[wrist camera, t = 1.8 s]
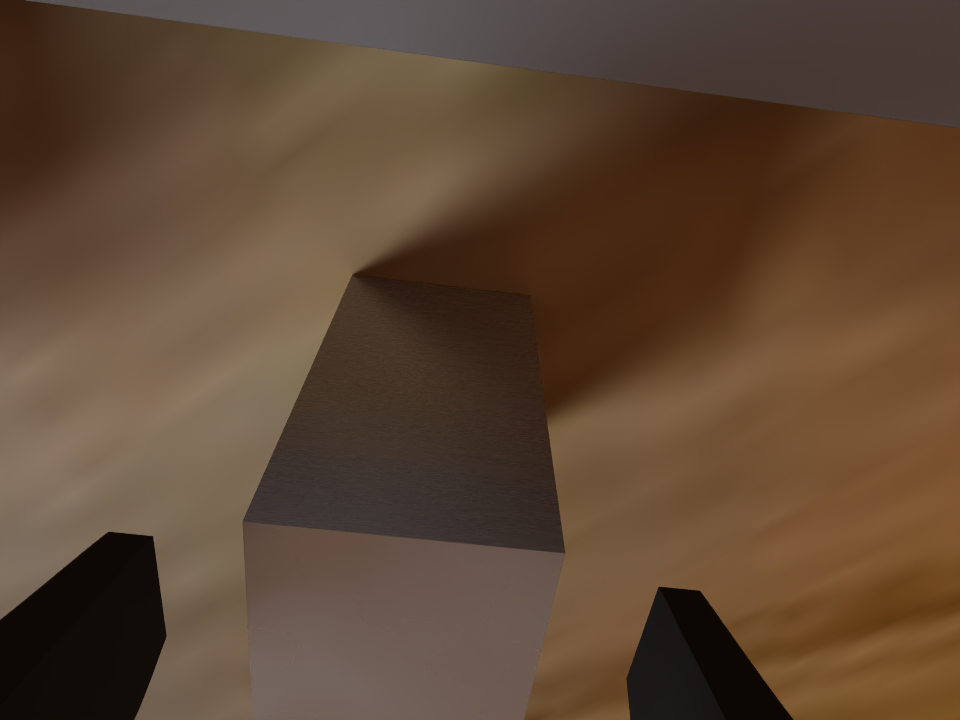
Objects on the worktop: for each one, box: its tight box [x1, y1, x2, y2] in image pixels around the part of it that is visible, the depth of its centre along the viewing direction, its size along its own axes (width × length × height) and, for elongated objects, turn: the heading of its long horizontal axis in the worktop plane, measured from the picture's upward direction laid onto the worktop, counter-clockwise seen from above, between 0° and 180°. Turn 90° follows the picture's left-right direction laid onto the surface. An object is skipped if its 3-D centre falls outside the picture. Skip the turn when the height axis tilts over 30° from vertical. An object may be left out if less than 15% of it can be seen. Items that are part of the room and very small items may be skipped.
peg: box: [243, 275, 565, 720], centre depth 13 cm, size 4×4×8 cm
